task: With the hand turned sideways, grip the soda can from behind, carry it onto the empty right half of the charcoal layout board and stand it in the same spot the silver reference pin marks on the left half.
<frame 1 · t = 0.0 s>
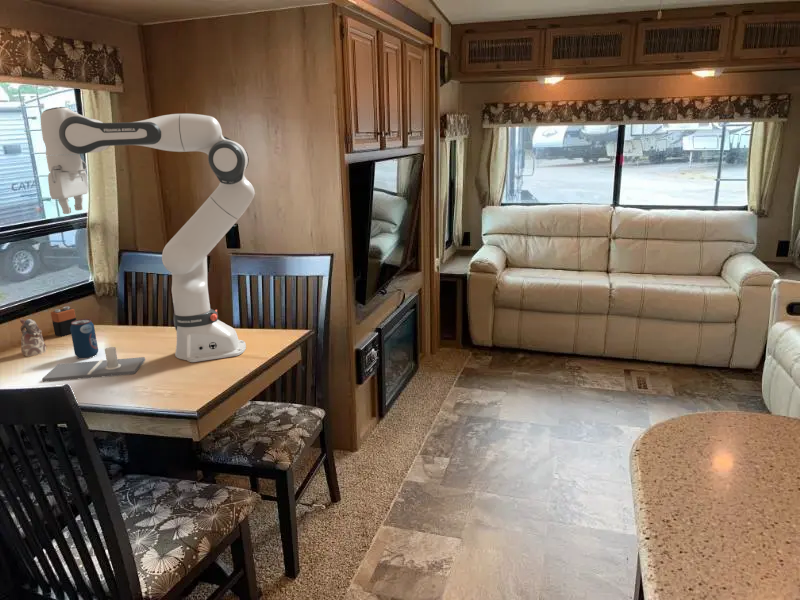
hand: (73, 211, 177), 48 cm above the table, tool pointing down, fingers open, 8 cm apart
layout board: (96, 370, 182), on the table
figurine: (34, 353, 200), on the table
soda can: (87, 356, 195), on the table
battery: (67, 334, 219), on the table
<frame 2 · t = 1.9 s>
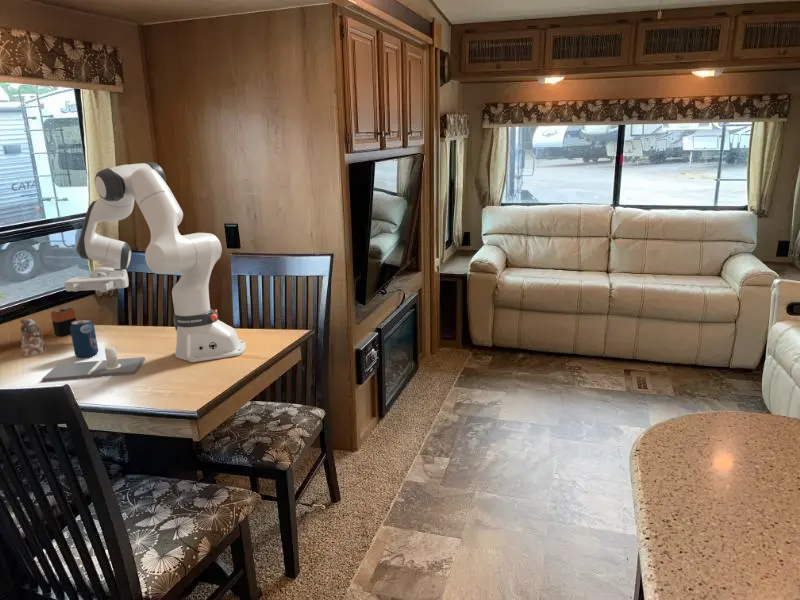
hand: (90, 288, 202), 20 cm above the table, tool horizontal, fingers open, 8 cm apart
nothing on the table moved.
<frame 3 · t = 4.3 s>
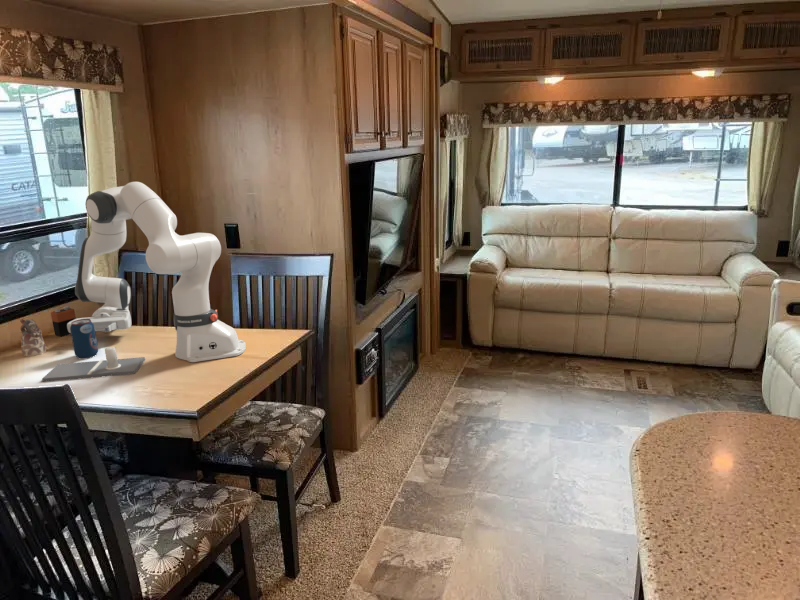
hand: (92, 330, 200), 6 cm above the table, tool horizontal, fingers open, 8 cm apart
nothing on the table moved.
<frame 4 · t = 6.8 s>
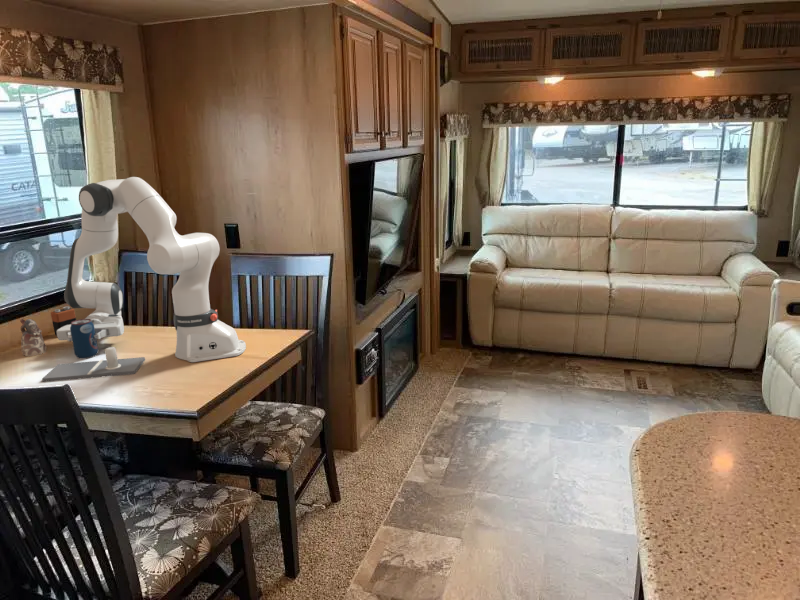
hand: (83, 337, 192), 7 cm above the table, tool horizontal, fingers closed on soda can, 7 cm apart
soda can: (87, 356, 195), on the table, touching gripper
everything else where it was.
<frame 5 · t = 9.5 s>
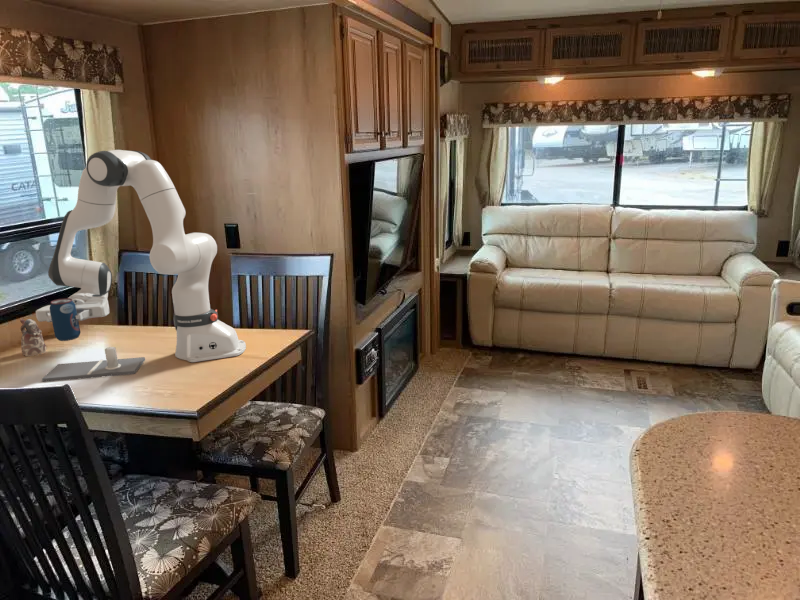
hand: (63, 318, 179), 17 cm above the table, tool horizontal, fingers closed on soda can, 7 cm apart
soda can: (68, 338, 181), point 10 cm above the table, touching gripper
everything else where it was.
when the fingers open (9 cm above the table, at t = 12.5 s): soda can moves 1 cm, resting on layout board.
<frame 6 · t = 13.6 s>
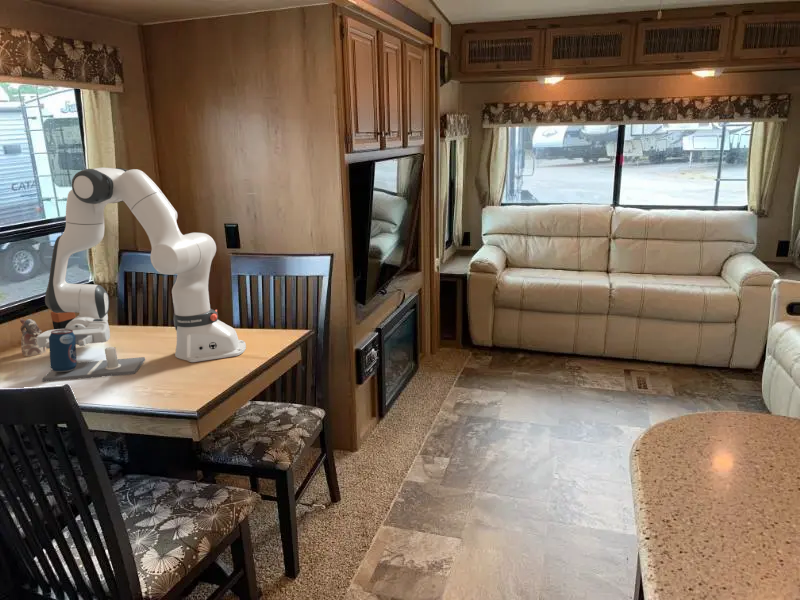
hand: (64, 344, 178), 9 cm above the table, tool horizontal, fingers open, 8 cm apart
soda can: (63, 370, 179), point 1 cm above the table, touching layout board
everything else where it was.
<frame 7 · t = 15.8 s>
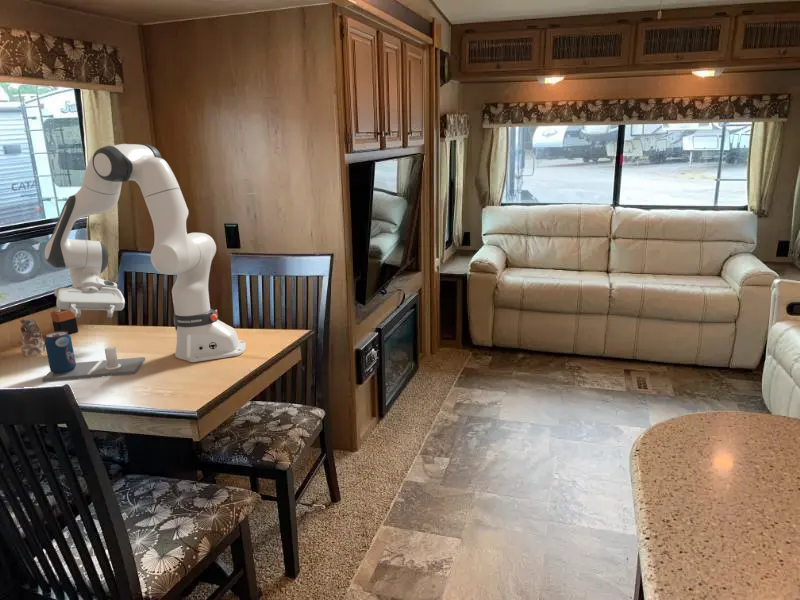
hand: (94, 315, 192), 14 cm above the table, tool tilted 60°, fingers open, 8 cm apart
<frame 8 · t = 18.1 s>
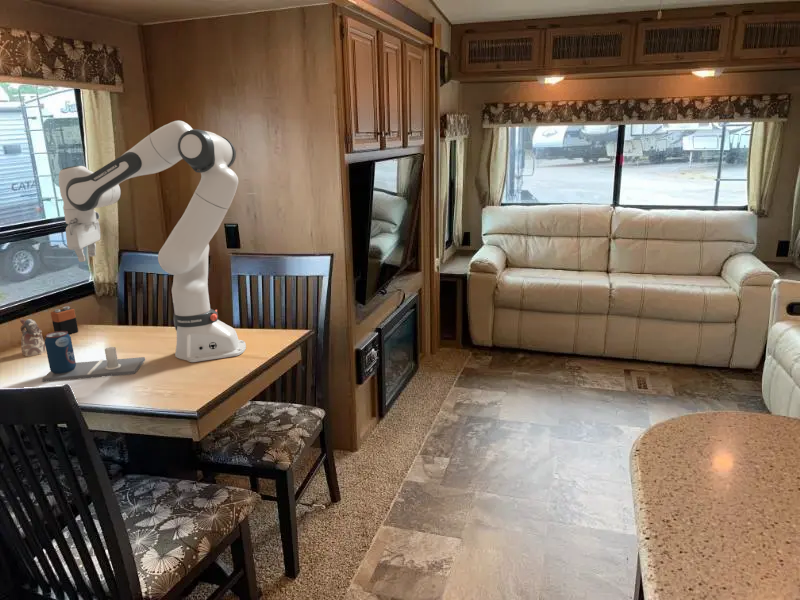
hand: (87, 258, 195), 31 cm above the table, tool pointing down, fingers open, 8 cm apart
nothing on the table moved.
at the end: soda can 1.3 cm from the target spot on the layout board, point 0.8 cm above the layout board's base; soda can tilted 0°; the gripper is holding nothing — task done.
